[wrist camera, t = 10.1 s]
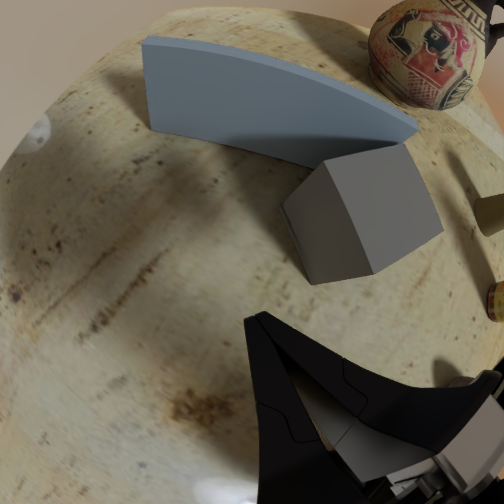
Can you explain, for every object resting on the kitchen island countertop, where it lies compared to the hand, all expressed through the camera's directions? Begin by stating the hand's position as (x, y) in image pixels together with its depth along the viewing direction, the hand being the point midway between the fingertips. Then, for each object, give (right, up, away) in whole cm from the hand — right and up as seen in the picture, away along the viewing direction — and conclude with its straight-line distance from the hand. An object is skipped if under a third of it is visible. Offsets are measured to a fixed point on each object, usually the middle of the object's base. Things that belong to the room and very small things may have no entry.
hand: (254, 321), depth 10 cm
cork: (+36, +8, +22) cm, 42 cm away
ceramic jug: (+21, +26, +22) cm, 40 cm away
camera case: (+7, +4, +14) cm, 16 cm away
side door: (0, +12, +14) cm, 18 cm away
